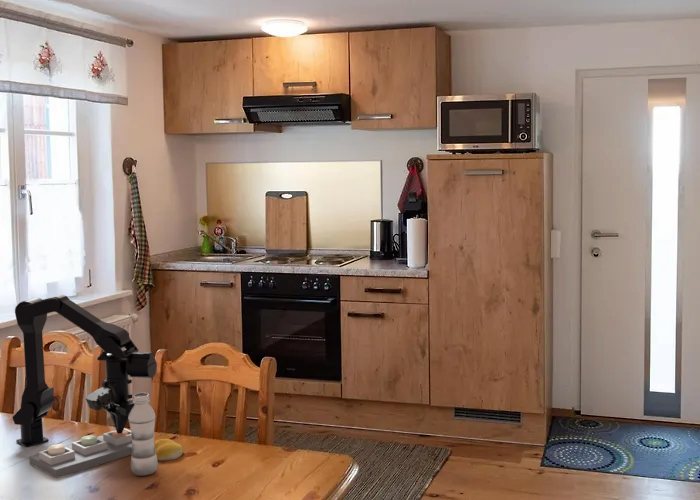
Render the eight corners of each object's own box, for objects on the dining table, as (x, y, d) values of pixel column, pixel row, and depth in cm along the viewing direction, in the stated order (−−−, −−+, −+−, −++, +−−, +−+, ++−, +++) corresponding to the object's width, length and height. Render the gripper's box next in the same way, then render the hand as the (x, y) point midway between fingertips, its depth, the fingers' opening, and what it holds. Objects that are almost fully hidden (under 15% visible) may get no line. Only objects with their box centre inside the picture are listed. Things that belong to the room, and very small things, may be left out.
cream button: (45, 453, 211) (45, 447, 210) (60, 449, 213) (60, 443, 213) (53, 457, 208) (52, 450, 208) (68, 453, 211) (67, 446, 210)
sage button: (78, 444, 217) (78, 438, 217) (92, 440, 220) (92, 434, 220) (86, 447, 214) (85, 441, 214) (100, 443, 217) (99, 437, 217)
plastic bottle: (163, 470, 207) (160, 392, 205) (148, 480, 201) (144, 399, 199) (141, 467, 209) (137, 389, 207) (125, 477, 203) (121, 397, 201)
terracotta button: (109, 439, 224) (109, 433, 223) (122, 435, 226) (122, 429, 226) (117, 442, 221) (117, 436, 221) (130, 438, 224) (130, 432, 224)
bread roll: (161, 464, 212) (160, 449, 211) (144, 454, 219) (143, 440, 218) (189, 456, 217) (189, 441, 217) (172, 447, 224) (172, 432, 224)
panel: (29, 463, 213) (28, 449, 212) (119, 437, 232) (119, 424, 231) (56, 477, 203) (55, 462, 203) (147, 449, 222) (147, 435, 222)
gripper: (71, 376, 222) (74, 432, 224) (108, 389, 209) (111, 449, 211) (109, 368, 230) (111, 422, 232) (146, 380, 217) (149, 437, 219)
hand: (119, 432), depth 223 cm, fingers closed, pressing on terracotta button
